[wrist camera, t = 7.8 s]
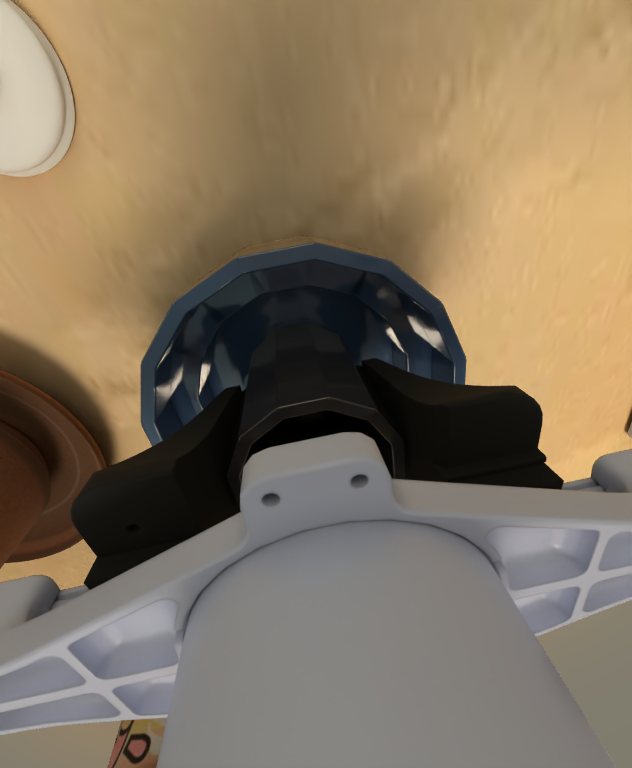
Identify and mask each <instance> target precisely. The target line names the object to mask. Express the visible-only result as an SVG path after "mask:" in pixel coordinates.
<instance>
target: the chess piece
mask: <svg viewBox="0 0 632 768" xmlns="http://www.w3.org/2000/svg"><path fill="white" fill-rule="evenodd" d="M74 125H75V110H74V101H73V96H72V92H71V88H70V84H69V81H68V78H67V76H66V73H65V71H64V68H63V66H62V64H61V62H60V60H59V58H58V56H57V54H56V52H55V51H54V49H53V47H52V46H51V44H50V43H49V41H48V40H47V38H46V37H45V35H44V34H43V33H42V31H41V30H40V29H39V28H38V27H37V25H36V24H35V23H34V22H33V21H32V20H31V19H30V18H29V17H28V16H27V15H26V14H25V13H24V12H23V11H22V10H21V9H20V8H19V7H18V6H17V5H15V4H14V3H13V2H12V1H10V0H0V174H2V175H7V176H14V177H28V176H35V175H38V174H41V173H44V172H46V171H48V170H50V169H51V168H53V167H54V166H55V165H57V164H58V163H59V162H60V161H61V159H62V158H63V157H64V155H65V154H66V152H67V150H68V148H69V146H70V144H71V141H72V137H73V133H74Z"/></svg>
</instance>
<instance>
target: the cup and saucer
mask: <svg viewBox="0 0 632 768" xmlns="http://www.w3.org/2000/svg"><path fill="white" fill-rule="evenodd" d="M104 468H107V467H106V464H105V461H104V458H103V456H102V453H101V451H100V449H99V447H98V446H97V444H96V442H95V441H94V439H93V438H92V436H91V435H90V434H89V432H88V431H87V430H86V428H85V427H84V426H83V425H82V424H81V423H80V422H79V421H78V419H76V418H75V417H74V416H73V415H72V414H71V413H70V412H69V411H68V410H67V409H66V408H64V407H63V406H62V405H61V404H60V403H58V402H57V401H56V400H54V399H53V398H52V397H50V396H49V395H47V394H46V393H44V392H43V391H41V390H40V389H38V388H36V387H35V386H33V385H31V384H30V383H28V382H26V381H24V380H22V379H20V378H18V377H16V376H14V375H12V374H10V373H7V372H5V371H3V370H0V569H1V567H2V566H3V565H4V563H12V562H22V561H29V560H34V559H39V558H43V557H47V556H50V555H53V554H56V553H58V552H61V551H63V550H65V549H67V548H70V547H71V546H73V545H75V544H76V543H78V542H79V541H81V540H82V539H83V537H82V536H81V535H80V533H79V532H78V531H77V529H76V528H75V526H74V524H73V522H72V520H71V514H70V510H71V507H72V503H73V501H74V500H75V498H76V497H77V496H78V494H79V493H80V491H81V490H82V488H83V487H84V486H85V484H86V483H87V481H88V480H89V478H90V477H91V476H92V474H93V473H94V472H96V471H99V470H102V469H104Z"/></svg>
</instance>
